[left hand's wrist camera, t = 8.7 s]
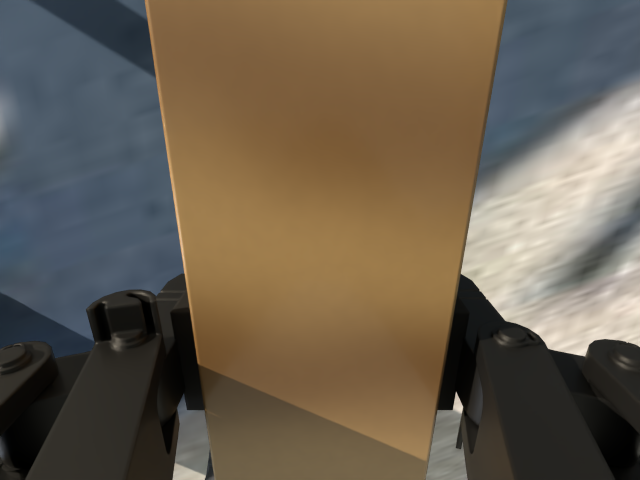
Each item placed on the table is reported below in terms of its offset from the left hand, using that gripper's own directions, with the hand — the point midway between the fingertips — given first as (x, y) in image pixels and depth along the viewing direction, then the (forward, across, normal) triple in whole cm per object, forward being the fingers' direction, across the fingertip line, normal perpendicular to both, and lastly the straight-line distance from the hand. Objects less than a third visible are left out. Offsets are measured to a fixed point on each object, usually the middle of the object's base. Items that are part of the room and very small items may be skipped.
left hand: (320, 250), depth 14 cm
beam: (0, 0, -23) cm, 23 cm away
